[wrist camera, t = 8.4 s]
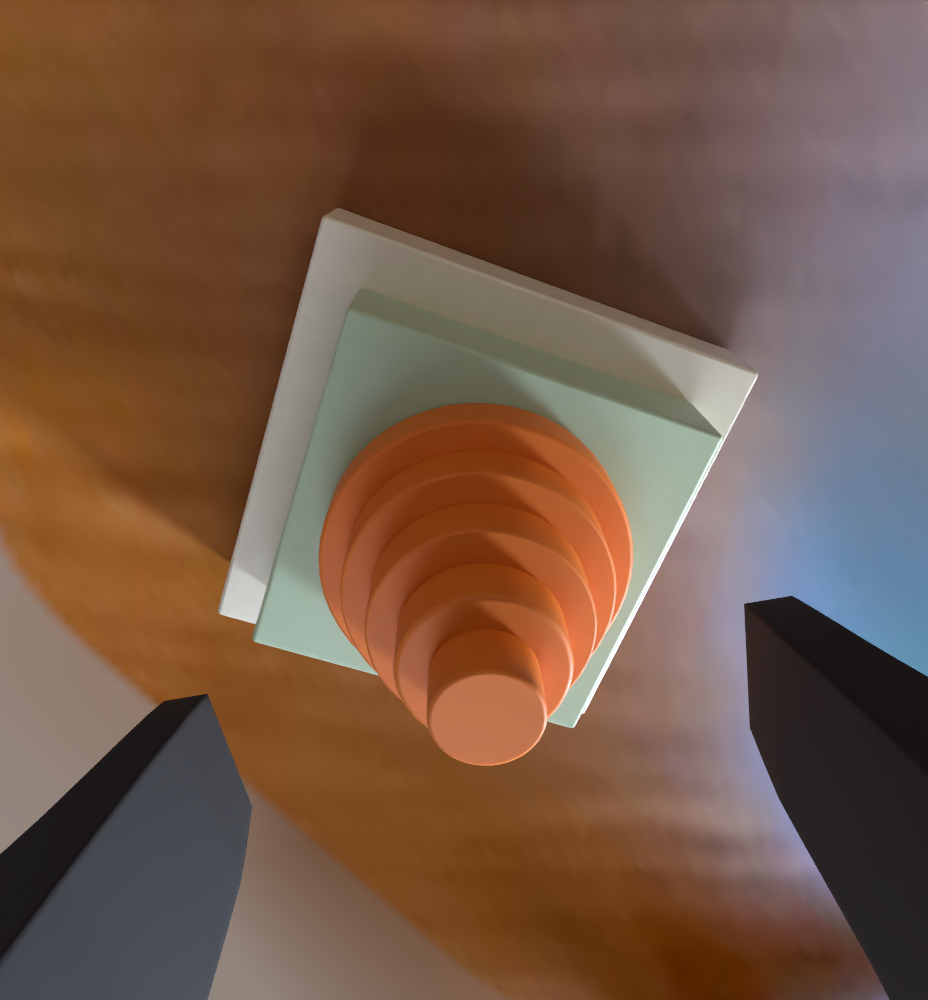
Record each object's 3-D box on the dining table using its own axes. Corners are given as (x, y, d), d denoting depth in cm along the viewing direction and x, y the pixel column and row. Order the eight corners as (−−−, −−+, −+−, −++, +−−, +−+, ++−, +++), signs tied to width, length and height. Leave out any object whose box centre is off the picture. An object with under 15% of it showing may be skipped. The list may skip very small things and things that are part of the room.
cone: (292, 622, 16) (229, 821, 11) (374, 357, 13) (339, 468, 9) (556, 695, 16) (597, 908, 12) (673, 458, 14) (779, 606, 10)
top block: (270, 591, 18) (250, 642, 16) (360, 286, 15) (347, 306, 13) (561, 672, 19) (574, 730, 17) (693, 403, 16) (725, 436, 14)
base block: (237, 570, 20) (216, 614, 18) (335, 206, 16) (322, 214, 14) (572, 666, 21) (584, 716, 19) (728, 349, 18) (761, 373, 16)
